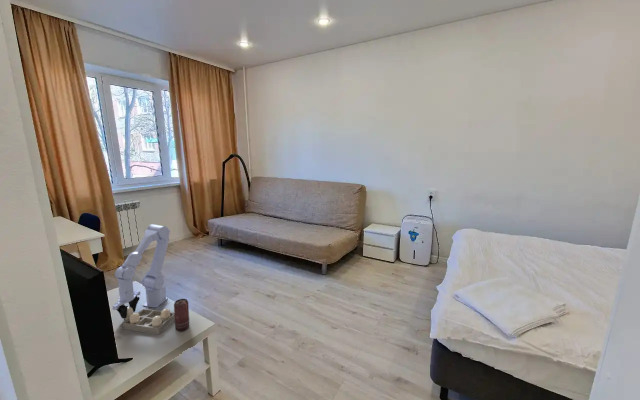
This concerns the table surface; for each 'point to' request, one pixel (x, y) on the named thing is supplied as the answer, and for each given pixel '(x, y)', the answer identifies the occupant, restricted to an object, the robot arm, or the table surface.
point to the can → (181, 315)
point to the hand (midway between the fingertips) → (128, 314)
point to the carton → (148, 322)
